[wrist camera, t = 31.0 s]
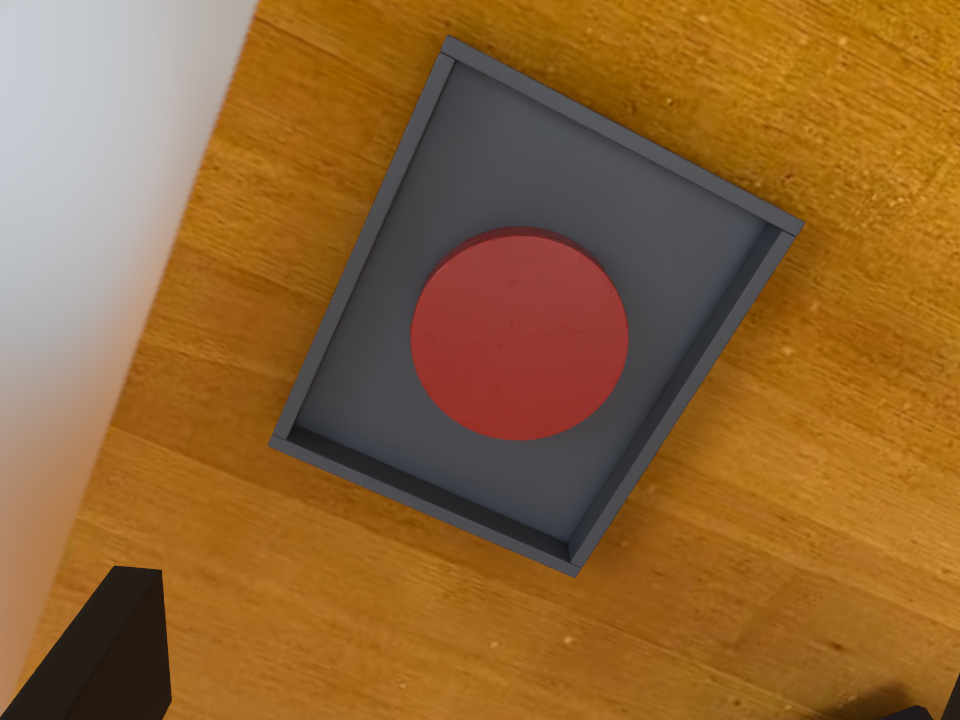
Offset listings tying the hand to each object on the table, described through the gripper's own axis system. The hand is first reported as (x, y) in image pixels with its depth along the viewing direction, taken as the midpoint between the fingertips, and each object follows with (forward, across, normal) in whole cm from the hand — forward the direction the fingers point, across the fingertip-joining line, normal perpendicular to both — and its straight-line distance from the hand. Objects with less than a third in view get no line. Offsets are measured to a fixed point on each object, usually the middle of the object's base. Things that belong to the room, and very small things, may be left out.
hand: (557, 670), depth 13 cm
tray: (+20, 0, -1) cm, 20 cm away
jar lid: (+18, 0, -1) cm, 18 cm away
